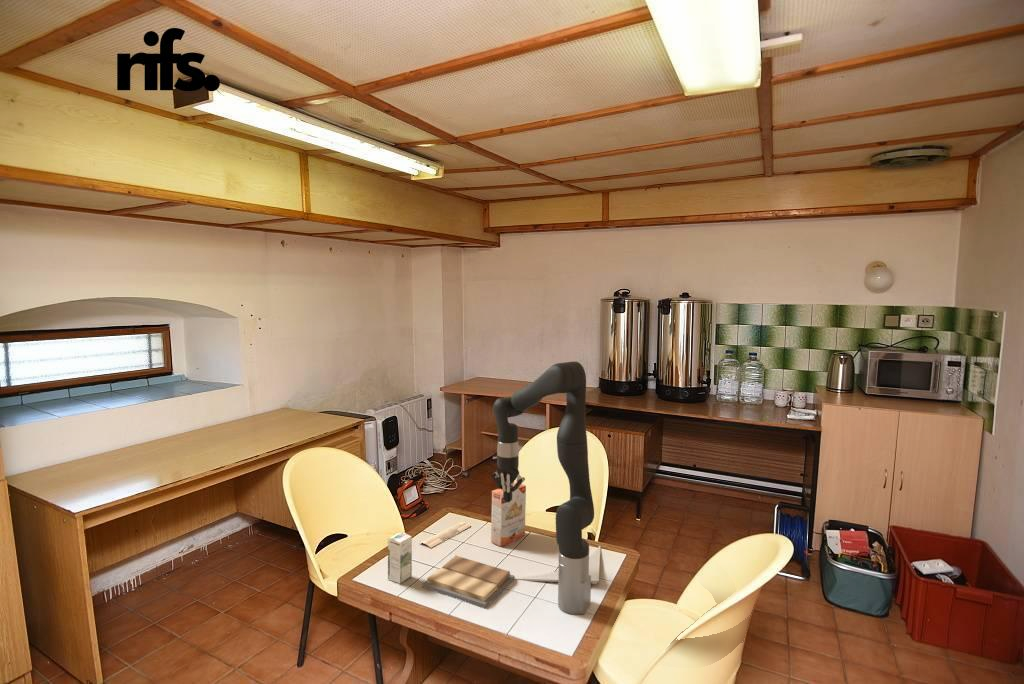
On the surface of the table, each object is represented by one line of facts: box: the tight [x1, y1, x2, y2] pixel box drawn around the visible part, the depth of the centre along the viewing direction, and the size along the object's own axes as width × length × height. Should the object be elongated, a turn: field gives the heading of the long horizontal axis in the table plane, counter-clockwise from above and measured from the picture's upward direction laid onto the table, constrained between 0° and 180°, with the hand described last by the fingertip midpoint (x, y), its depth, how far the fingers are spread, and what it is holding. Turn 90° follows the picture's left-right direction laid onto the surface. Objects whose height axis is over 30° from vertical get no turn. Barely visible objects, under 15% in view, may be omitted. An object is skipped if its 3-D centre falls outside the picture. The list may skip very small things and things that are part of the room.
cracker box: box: [490, 482, 527, 548], centre depth 202 cm, size 14×6×21 cm, turn 136°
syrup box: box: [387, 532, 413, 585], centre depth 173 cm, size 6×6×14 cm
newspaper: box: [420, 521, 472, 549], centre depth 205 cm, size 24×7×2 cm, turn 144°
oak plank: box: [426, 566, 497, 601], centre depth 167 cm, size 22×8×2 cm, turn 61°
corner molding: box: [514, 545, 601, 585], centre depth 185 cm, size 30×2×30 cm
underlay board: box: [422, 574, 516, 609], centre depth 171 cm, size 24×19×1 cm
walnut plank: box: [442, 555, 511, 588], centre depth 174 cm, size 22×8×2 cm, turn 61°
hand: (507, 501), depth 181 cm, fingers closed
